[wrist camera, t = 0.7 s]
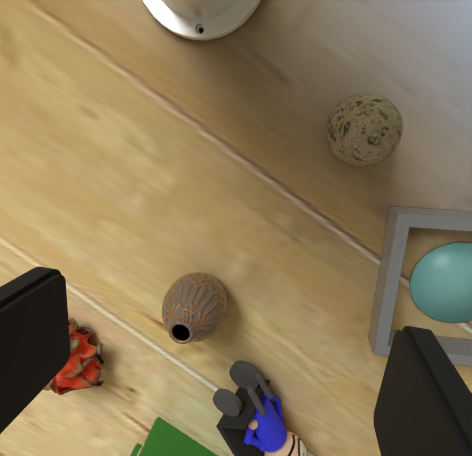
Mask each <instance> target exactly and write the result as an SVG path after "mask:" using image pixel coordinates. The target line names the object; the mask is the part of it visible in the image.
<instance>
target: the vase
mask: <svg viewBox="0 0 472 456" xmlns="http://www.w3.org/2000/svg"><path fill="white" fill-rule="evenodd" d="M227 306H228V303H227V295H226V292H225V290H224V288H223V286H222V284H221V283H220V282H219V281H218V280H217V279H216V278H214V277H213V276H211V275H209V274H206V273H190V274H187V275H185V276H183V277H181V278H179V279H178V280H177V281H176V282H174V283H173V285H172V286H171V287H170V288H169V290H168V291H167V293H166V295H165V298H164V301H163V306H162V317H163V321H164V324H165V326H166V328H167V329H168V331H169V335H170V337H171V338H172V339H173V340H174V341H175V342H177V343H180V344H185V343H188V342H199V341H202V340H205V339H207V338H209V337H210V336H212V335H213V334H214V333H215V332H216V331H217V330H218V329H219V328H220V326H221V325H222V323H223V321H224V319H225V316H226V312H227Z"/></svg>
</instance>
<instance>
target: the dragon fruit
mask: <svg viewBox="0 0 472 456" xmlns="http://www.w3.org/2000/svg"><path fill="white" fill-rule="evenodd" d="M69 322H73V323H71V324H70V323H69ZM68 323H69V337H70V350H71V353H70V358H69V361H68V362H67V364H66V365H65V366H64V367H63V369H62V370H61V371H60V372H59V373H58V374H57V375H56V376H55V377H54V378H53V379H52V380H51V381H50V382H49V383H48V384H47V385H46V386H45V387H44V388H43V389H44V390H50V389H52V391H54V392H55V393H57V394H59V395H63V394H64V393H67V392H69V391H73V390H79V389H83V388H90V387H95V386H101V385H102V384H103V382H104V381H100V382H98V381H99V378H100V375H101V373H100V371H99V370H101V369H103V364H104V361H103V360H102V359H101V358H102V356H101V355H100V354H101V349H102V346H103V344H101V343H99V342H98V343H97V346H93V345H90V344H88V341H87V340H88V338H89V337H90V336H91V334H92V332H91V331H90V330H89V329H86V328H85V327H80V328H77V326H78V325H77V322H76V321H75V320H74V319H70V320H69V321H68ZM77 331H86V333H79V332H77ZM97 354H98V355H97ZM94 355H96V356H97V358H98V359H99V361H100V363H101V366H100V365H99V364H98V363H97V361H96V360H95V357H94ZM106 376H107V375H106ZM105 379H106V378H105Z"/></svg>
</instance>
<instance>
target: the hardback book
mask: <svg viewBox="0 0 472 456" xmlns="http://www.w3.org/2000/svg"><path fill="white" fill-rule="evenodd" d="M130 456H218V455H216V454H214V453H213V452H211V451H210V450H208V449H207V448H205V447H204V446H202V445H201V444H199V443H198V442H196V441H195V440H193V439H192V438H190V437H189V436H187V435H185V434H184V433H182V432H181V431H179V430H178V429H176V428H175V427H173V426H172V425H170V424H169V423H167V422H166V421H164V420H163V419H161V418H160V417H158V418H157V419H156V420H155V422H154V424H153V426H152V428H151V430H150V432H149V435H148V437H147V439H146V441H145V443H144V445H143V446H142V445H140V444H138V443H137V445H136V446H135V447H134V449H133V451H132V453H131V455H130Z"/></svg>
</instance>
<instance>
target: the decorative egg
mask: <svg viewBox="0 0 472 456" xmlns="http://www.w3.org/2000/svg"><path fill="white" fill-rule="evenodd" d="M401 135H402V119H401V116H400V113H399V111H398V110H397V108H396V107H395V105H394V104H393V103H392V102H390V101H389V100H388V99H386V98H384V97H382V96H380V95H377V94H370V93H363V94H357V95H354V96H351V97H349V98H347V99H345V100H344V101H342V102H341V103H340V104H339V105H338V106H337V107H336V108H335V109H334V110H333V112H332V113H331V115H330V117H329V119H328V122H327V126H326V140H327V144H328V146H329V148H330V150H331V152H332V153H333V154H334V155H335V156H336V157H337V158H338V159H339V160H341V161H342V162H344V163H346V164H349V165H353V166H369V165H373V164H376V163H378V162H380V161H382V160H384V159H385V158H386V157H388V156H389V155H390V154H391V153H392V152H393V151H394V150H395V148H396V147H397V145H398V143H399V141H400V139H401Z"/></svg>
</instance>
